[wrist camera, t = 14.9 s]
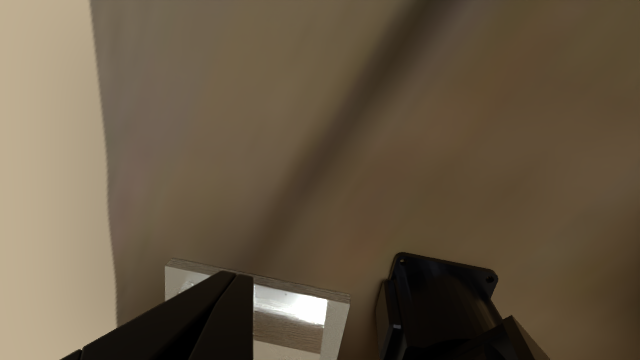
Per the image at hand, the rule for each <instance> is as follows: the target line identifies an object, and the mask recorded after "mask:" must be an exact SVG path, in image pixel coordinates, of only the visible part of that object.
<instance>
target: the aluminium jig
mask: <svg viewBox="0 0 640 360" xmlns="http://www.w3.org/2000/svg"><path fill="white" fill-rule="evenodd" d="M221 270H225V271H230V272H234V273H236V274H237V275H238V274H244V275H249V276H252V277H253V279H254V339H253V360H337V356H338V352H339V348H340V344H341V340H342V335H343V331H344V327H345V323H346V319H347V315H348V311H349V306H350V294H345V293H340V292H335V291H330V290H325V289H321V288H316V287H311V286H306V285H301V284H296V283H291V282H287V281H282V280H277V279H272V278H267V277H262V276H258V275H253V274H248V273H243V272H238V271H233V270H228V269H224V268H219V267H214V266H209V265H204V264H199V263H195V262H190V261H185V260H180V259H175V258H172V259H171V260H170V261H169V262H168V263H167V265H166V266H165V301H167V300H168V299H170V298H172V297H174V296H176V295H177V294H179V293H181V292H183V291H185V290H186V289H188V288H190V287H192V286H194V285H195V284H197V283H199V282H201V281H203V280H204V279H206V278H208V277H210V276H212V275H213V274H215V273H217V272H219V271H221Z"/></svg>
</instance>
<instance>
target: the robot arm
mask: <svg viewBox="0 0 640 360" xmlns="http://www.w3.org/2000/svg"><path fill="white" fill-rule="evenodd" d="M401 259H406V261H405V262H400V260H401ZM489 276H491V278H490V279H486V278H487V277H489ZM497 282H498V276H497V275H496V273H495V272H494V271H493V270H491V269H486V268H481V267H476V266H471V265H466V264H461V263H456V262H451V261H446V260H440V259H435V258H430V257H425V256H420V255H415V254H410V253H405V252H401V253H398V254H397V255H396V257H395V259H394V263H393V267H392V270H391V274H390V277H389V280H388V279H386V280H385V281H384V282H383V284H382V288H381V291H380V295H379V298H378V302H377V306H376V309H375V313H376V325H377V337H378V349H379V358H380V359H381V360H550V359H549V357H548V356H547V355H546V354H545V353H544V352H543V350H542V349H541V348H540V347H539V346H538V345H537V344H536V342H535V341H534V340H533V339H532V338H531V337H530V335H529V334H528V333H527V332H526V331H525V330H524V328H523V327H522V326H521V325H520V324H519V323H518V322H517V320H516V319H515V318H514V317H513V316H512V315H511V316H509V317H507V318H505V319H502V317H501V316H500V314H499V312H498V311H497V309H496V307H495V306H494V304H493V302H492V301H491V296H492V294H493V291H494V289H495V287H496V284H497ZM253 339H254V279H253V277H252V276H249V275H244V274H238V275H237V274H236V273H234V272H230V271H225V270H221V271H219V272H217V273H215V274H213V275H212V276H210V277H208V278H206V279H204V280H203V281H201V282H199V283H197V284H195V285H194V286H192V287H190V288H188V289H186V290H185V291H183V292H181V293H179V294H177V295H176V296H174V297H172V298H170V299H168V300H167V301H165V302H163V303H161V304H159V305H158V306H156V307H154V308H152V309H150V310H149V311H147V312H145V313H143V314H141V315H140V316H138V317H136V318H134V319H132V320H131V321H129V322H127V323H125V324H123V325H122V326H120V327H118V328H116V329H114V330H113V331H111V332H109V333H107V334H106V335H104V336H102V337H100V338H98V339H96V340H95V341H93V342H91V343H89V344H87V345H86V346H84V347H83V349H82V350H80V349H78V350H76V351H75V352H73V353H71V354H70V355H68V356H66V357H64V358H62V359H60V360H253Z"/></svg>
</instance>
